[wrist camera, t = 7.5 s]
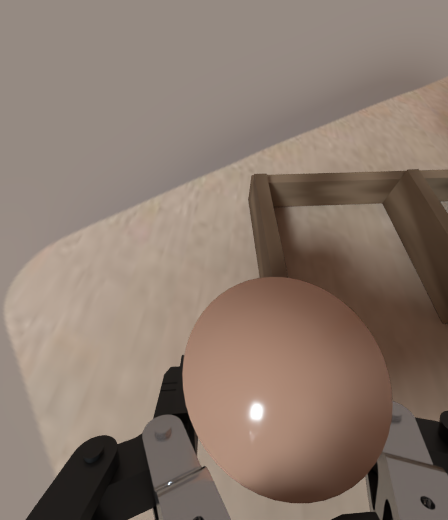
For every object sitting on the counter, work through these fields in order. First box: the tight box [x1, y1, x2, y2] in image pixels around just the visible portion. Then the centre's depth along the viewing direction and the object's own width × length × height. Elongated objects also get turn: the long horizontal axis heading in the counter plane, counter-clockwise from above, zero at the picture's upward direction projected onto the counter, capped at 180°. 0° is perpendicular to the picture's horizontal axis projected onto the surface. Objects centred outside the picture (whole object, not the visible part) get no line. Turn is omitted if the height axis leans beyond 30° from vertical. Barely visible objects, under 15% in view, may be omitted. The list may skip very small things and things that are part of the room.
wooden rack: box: [248, 169, 448, 324], centre depth 21 cm, size 27×13×4 cm, turn 93°
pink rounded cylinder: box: [182, 277, 393, 503], centre depth 12 cm, size 6×6×11 cm
